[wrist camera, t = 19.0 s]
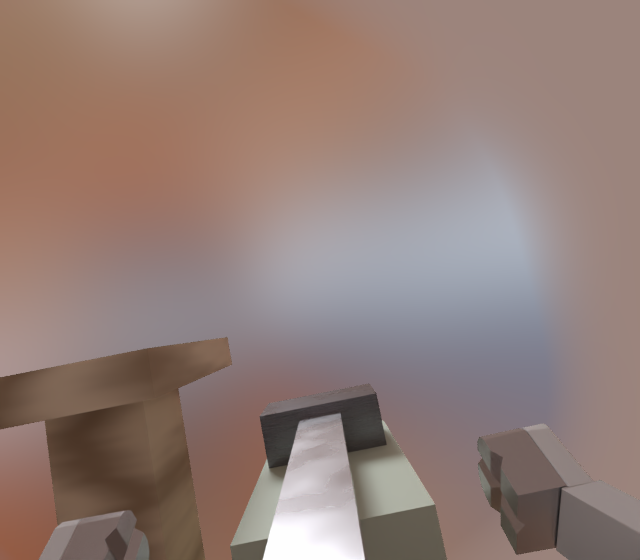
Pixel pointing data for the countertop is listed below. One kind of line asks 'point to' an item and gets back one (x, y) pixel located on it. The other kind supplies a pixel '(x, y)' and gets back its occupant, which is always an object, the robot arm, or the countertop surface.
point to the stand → (121, 437)
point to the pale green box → (359, 508)
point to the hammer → (319, 472)
